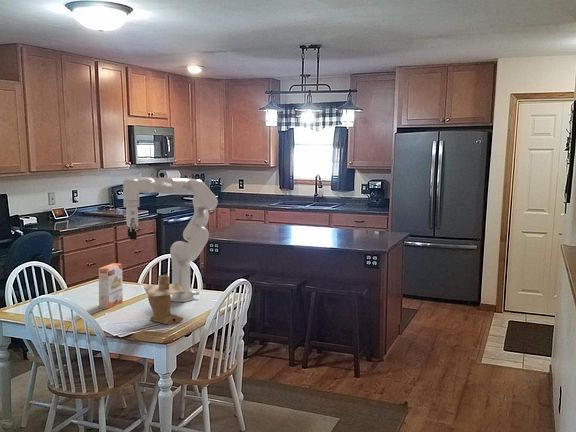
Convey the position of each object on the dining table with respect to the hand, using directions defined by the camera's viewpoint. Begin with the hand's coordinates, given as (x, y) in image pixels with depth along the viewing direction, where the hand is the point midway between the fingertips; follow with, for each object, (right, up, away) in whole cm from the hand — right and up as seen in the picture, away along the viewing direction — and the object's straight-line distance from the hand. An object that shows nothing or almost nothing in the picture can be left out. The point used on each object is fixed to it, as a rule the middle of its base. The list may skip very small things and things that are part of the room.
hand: (132, 237), depth 261 cm
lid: (+20, -24, -17) cm, 35 cm away
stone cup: (+19, -39, -15) cm, 46 cm away
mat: (0, -38, -10) cm, 39 cm away
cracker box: (-14, -35, +10) cm, 39 cm away
